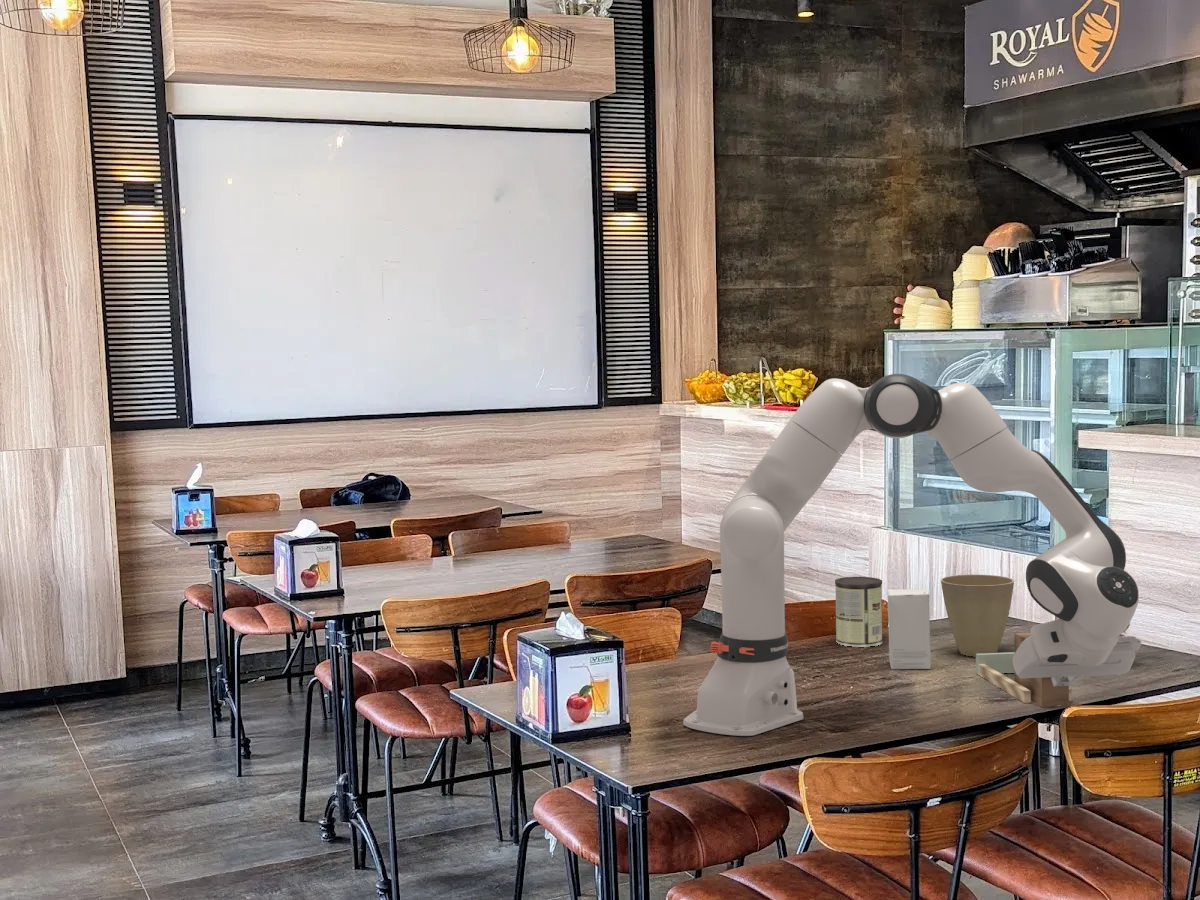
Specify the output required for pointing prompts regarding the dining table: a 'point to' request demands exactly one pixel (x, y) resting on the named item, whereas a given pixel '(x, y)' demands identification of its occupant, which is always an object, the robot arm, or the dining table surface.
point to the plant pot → (977, 610)
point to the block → (1042, 684)
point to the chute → (1008, 684)
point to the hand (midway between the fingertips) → (1060, 682)
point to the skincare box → (909, 629)
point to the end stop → (996, 661)
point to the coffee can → (859, 611)
